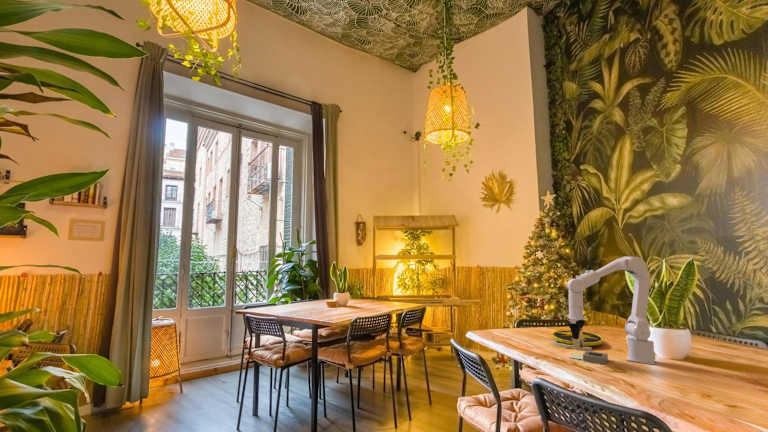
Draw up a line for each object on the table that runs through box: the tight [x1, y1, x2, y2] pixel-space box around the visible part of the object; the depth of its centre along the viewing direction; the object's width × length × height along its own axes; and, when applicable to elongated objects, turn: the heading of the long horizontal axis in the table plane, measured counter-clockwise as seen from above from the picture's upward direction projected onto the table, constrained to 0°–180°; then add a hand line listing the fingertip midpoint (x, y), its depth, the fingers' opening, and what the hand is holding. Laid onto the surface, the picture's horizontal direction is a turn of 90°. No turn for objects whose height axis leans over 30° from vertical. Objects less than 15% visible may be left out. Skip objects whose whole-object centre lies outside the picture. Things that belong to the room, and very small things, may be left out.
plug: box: [573, 327, 585, 348], centre depth 169 cm, size 4×4×8 cm
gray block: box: [582, 350, 609, 365], centre depth 164 cm, size 8×9×2 cm
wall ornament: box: [549, 329, 604, 352], centre depth 194 cm, size 23×5×30 cm
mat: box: [568, 353, 583, 361], centre depth 168 cm, size 5×7×1 cm
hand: (576, 337), depth 169 cm, fingers closed on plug, 4 cm apart
